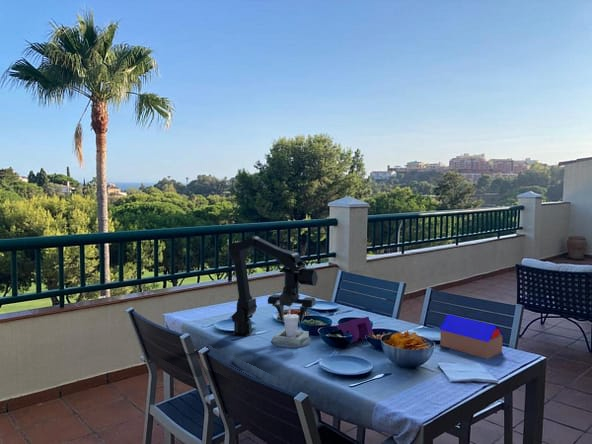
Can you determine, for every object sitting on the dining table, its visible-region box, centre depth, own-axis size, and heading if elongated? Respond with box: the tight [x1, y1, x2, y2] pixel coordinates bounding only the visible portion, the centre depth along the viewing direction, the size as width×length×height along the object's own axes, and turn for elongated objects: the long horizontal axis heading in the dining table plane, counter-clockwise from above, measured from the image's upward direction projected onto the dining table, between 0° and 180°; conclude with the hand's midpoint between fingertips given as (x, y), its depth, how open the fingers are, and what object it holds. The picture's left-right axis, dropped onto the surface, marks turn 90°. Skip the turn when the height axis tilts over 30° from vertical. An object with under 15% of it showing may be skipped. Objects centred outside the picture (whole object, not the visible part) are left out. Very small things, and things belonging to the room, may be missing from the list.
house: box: [439, 313, 504, 360], centre depth 178 cm, size 12×20×12 cm, turn 40°
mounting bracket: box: [332, 316, 373, 344], centre depth 192 cm, size 9×8×18 cm
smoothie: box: [283, 306, 300, 338], centre depth 186 cm, size 6×6×14 cm
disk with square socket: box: [271, 328, 312, 349], centre depth 186 cm, size 16×16×3 cm
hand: (291, 321), depth 186 cm, fingers open, 8 cm apart
